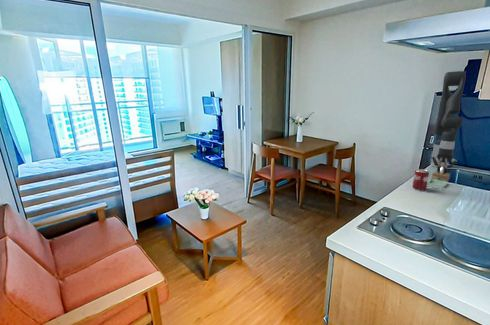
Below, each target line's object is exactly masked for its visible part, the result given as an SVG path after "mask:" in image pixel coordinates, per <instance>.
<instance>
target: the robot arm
mask: <svg viewBox="0 0 490 325" xmlns="http://www.w3.org/2000/svg"><path fill="white" fill-rule="evenodd" d="M466 74H467V72H466V71H464V70H458V71H457V70H455V71H448V72H446V73H445V74H444V78H443V84H442V93H441V97H440V100H439V106H438V112H437V118H436V121H435V122H436V123H435V126H434V130H433V133H434V135H435V136H439V137H440V136H441V138H439V139H435V140H434V143H433V148H432V153H431V158H430V166H431V167H435V168H437V170H436V171H438V172H439V171H440V166H445V169H444V173H448V170H449V169H451V168H452V167H453V166H454V165H455V164H456V163H457V162H458V160H457V159H455V158H454V149H455V143H456V137H457V134H458V131H459V129H460V128H461V127H462V126H463V121H464V120H463V118H462V117H461V116H455V115H459V113H460V110H461V101H462V95H463V93H464V88H465V83H466V78H467V75H466ZM450 87H457V88H456V90H455V91H454V93H452V92H451V90H450ZM450 161H451V163H450ZM449 163H450V165H449Z"/></svg>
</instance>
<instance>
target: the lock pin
mask: <svg viewBox="0 0 490 325" xmlns="http://www.w3.org/2000/svg"><path fill="white" fill-rule="evenodd" d="M444 169H445V166H440V171H439V174H444Z"/></svg>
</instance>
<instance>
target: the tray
mask: <svg viewBox="0 0 490 325" xmlns="http://www.w3.org/2000/svg"><path fill="white" fill-rule="evenodd" d="M433 182H435V183H433ZM436 183H440V184H436ZM448 183H449V181H448V182H446V181H441V180H436V179H431V178H430V179H428V182H427V188H429V187H430V188H433V189H435V188H436V189H438V190H442V191H443V190H444V188H445V187H447V185H448ZM441 184H443V185H441Z"/></svg>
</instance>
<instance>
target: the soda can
mask: <svg viewBox="0 0 490 325" xmlns="http://www.w3.org/2000/svg"><path fill="white" fill-rule="evenodd" d="M429 175H430V172H429V171H428V170H427V169H425V168H423V169H422V168H416V169H415V170H414V176H413V179H412V180H413V181H412V186H411V187H412V189H413V190H415V191H421V192H423V191H426V190H427V188H428V185H427V182H428V181H429Z"/></svg>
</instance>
